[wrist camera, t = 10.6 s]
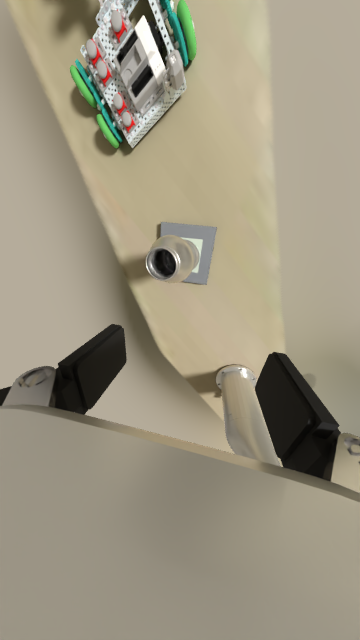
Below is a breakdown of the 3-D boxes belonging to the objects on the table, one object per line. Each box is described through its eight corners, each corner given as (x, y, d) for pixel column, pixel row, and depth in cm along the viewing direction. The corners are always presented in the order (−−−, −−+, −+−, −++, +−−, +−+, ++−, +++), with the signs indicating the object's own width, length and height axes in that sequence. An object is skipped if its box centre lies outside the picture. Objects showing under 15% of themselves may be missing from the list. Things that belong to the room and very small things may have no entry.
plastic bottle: (191, 276, 36) (174, 303, 18) (166, 261, 35) (125, 275, 17) (205, 250, 33) (203, 252, 15) (179, 233, 32) (144, 216, 14)
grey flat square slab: (206, 283, 37) (206, 284, 36) (160, 277, 39) (159, 278, 37) (216, 228, 32) (216, 227, 31) (162, 222, 33) (161, 221, 32)
